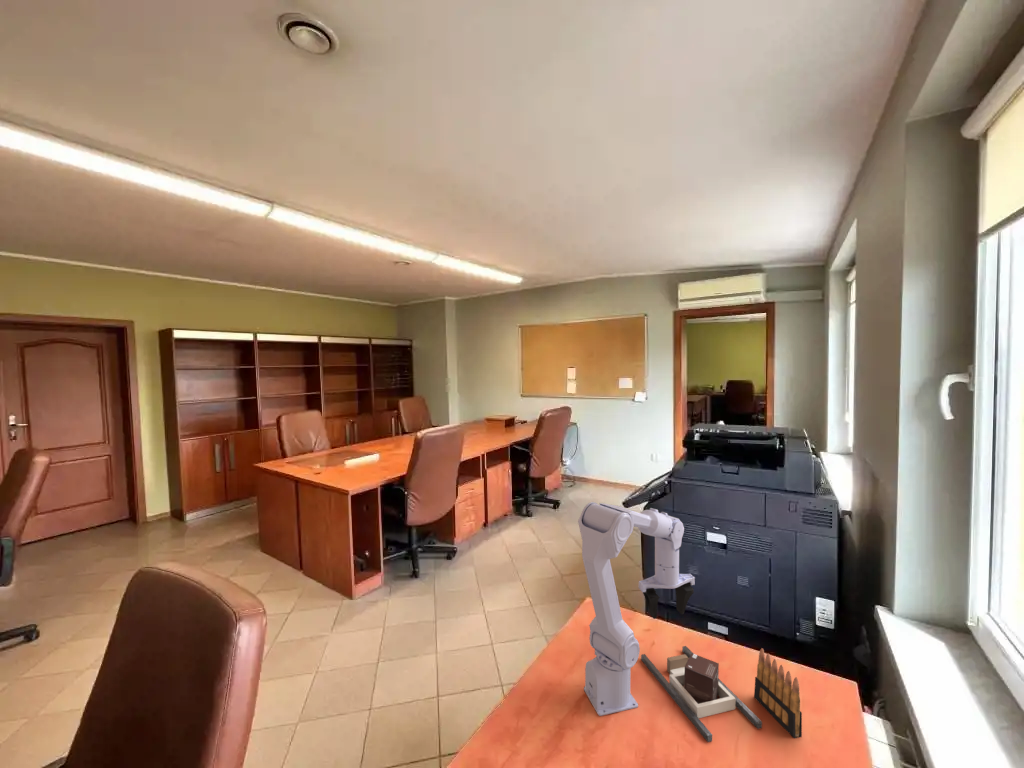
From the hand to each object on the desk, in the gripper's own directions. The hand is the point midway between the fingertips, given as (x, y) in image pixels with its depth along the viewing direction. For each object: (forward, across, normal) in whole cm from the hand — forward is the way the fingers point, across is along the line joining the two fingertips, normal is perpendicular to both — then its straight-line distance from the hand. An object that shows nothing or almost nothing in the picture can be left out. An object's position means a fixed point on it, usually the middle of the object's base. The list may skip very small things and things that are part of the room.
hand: (666, 614), depth 108 cm
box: (+11, 0, +14) cm, 18 cm away
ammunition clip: (+11, -12, +22) cm, 27 cm away
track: (+11, 0, +12) cm, 16 cm away
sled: (+11, 0, +12) cm, 16 cm away
